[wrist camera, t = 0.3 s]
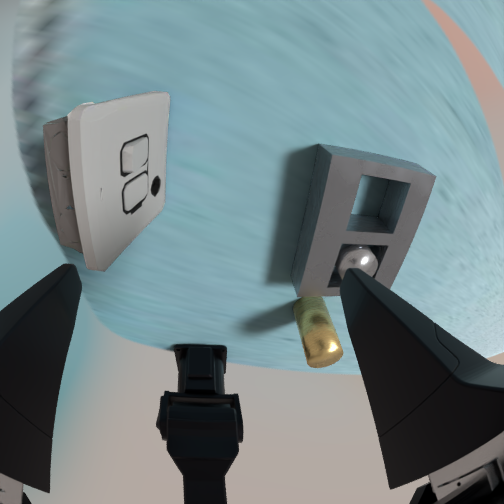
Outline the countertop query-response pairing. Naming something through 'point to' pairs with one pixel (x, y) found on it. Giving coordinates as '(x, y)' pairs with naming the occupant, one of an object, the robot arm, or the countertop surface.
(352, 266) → the silver round knob
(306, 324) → the gold domed cylinder
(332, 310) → the countertop surface
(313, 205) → the jig
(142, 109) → the electrical switch
